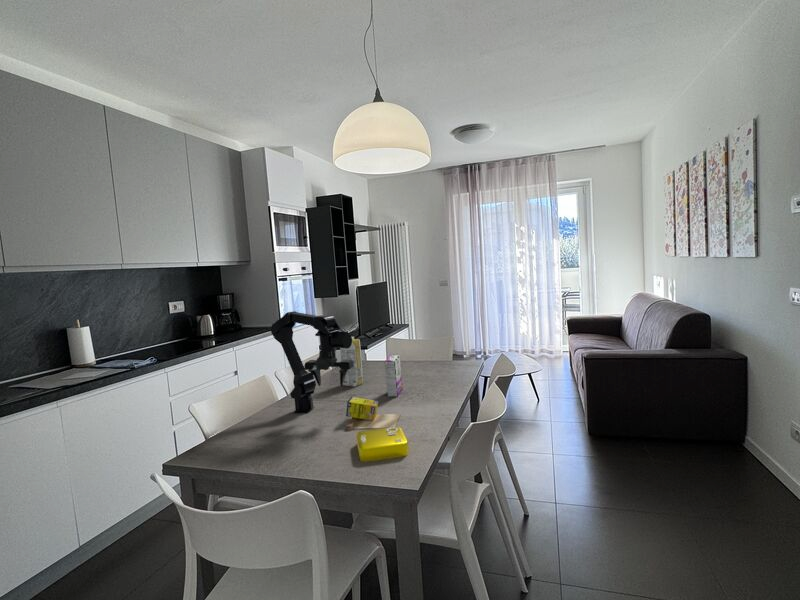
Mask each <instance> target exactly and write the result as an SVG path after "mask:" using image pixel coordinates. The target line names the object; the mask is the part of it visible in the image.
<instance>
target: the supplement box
mask: <svg viewBox="0 0 800 600" xmlns="http://www.w3.org/2000/svg"><path fill="white" fill-rule="evenodd" d="M378 406H379V400H374V399H367V398H361V397H356V396H355V397H354V396H350V398H349V399H348V400H347V401H346V412H345V417H350V418H352V417H354V418H360V419H366V420H372V421H374V419H375V418H376V416H377V413H378Z"/></svg>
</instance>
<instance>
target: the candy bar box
mask: <svg viewBox="0 0 800 600" xmlns="http://www.w3.org/2000/svg"><path fill="white" fill-rule="evenodd" d="M384 369H385V379H386V381H385V382H386V389H387V390H386V392H387V393H386V394H387V398H388V397H389V398H391V397H393V398H394V397H395V398H397V397H399V395H400V393H402V390H403V382H402V381H403V379H402V367H401V356H400V354H397V355H395V354H394V355H392V354H391V355H389V356H388V358H386V360H384Z"/></svg>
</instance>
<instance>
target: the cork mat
mask: <svg viewBox="0 0 800 600" xmlns="http://www.w3.org/2000/svg"><path fill="white" fill-rule="evenodd" d="M400 418H401V413H393V414H392V413H391V414H389V413H385V414H381V413H379V414H377V416H376V418H375V419H374V421H372V420H366V419H360V418H359V419H358V420H357V422H356V423H355V425H354V426H353V428H352V430H376V429H383V428H391V427H397V424H398V422H399V419H400Z"/></svg>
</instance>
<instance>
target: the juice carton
mask: <svg viewBox="0 0 800 600" xmlns="http://www.w3.org/2000/svg"><path fill="white" fill-rule="evenodd" d="M351 338H352V344H351V346H350V348H348V349H347V348H339V349H340V350H339V351H340V362H341V361H342V360H350V359H352V360H353V363H354V366H353V367H352V368H351V369H349V370H348V371H347V373H346V376H345V379H344V382H343V385H342V386H349V387H358V386H360V385H362V384H363V377H364V376H363V366H362V365H363V363H362V352H361V351H362V350H361V341H360V338H355V336H351Z"/></svg>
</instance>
